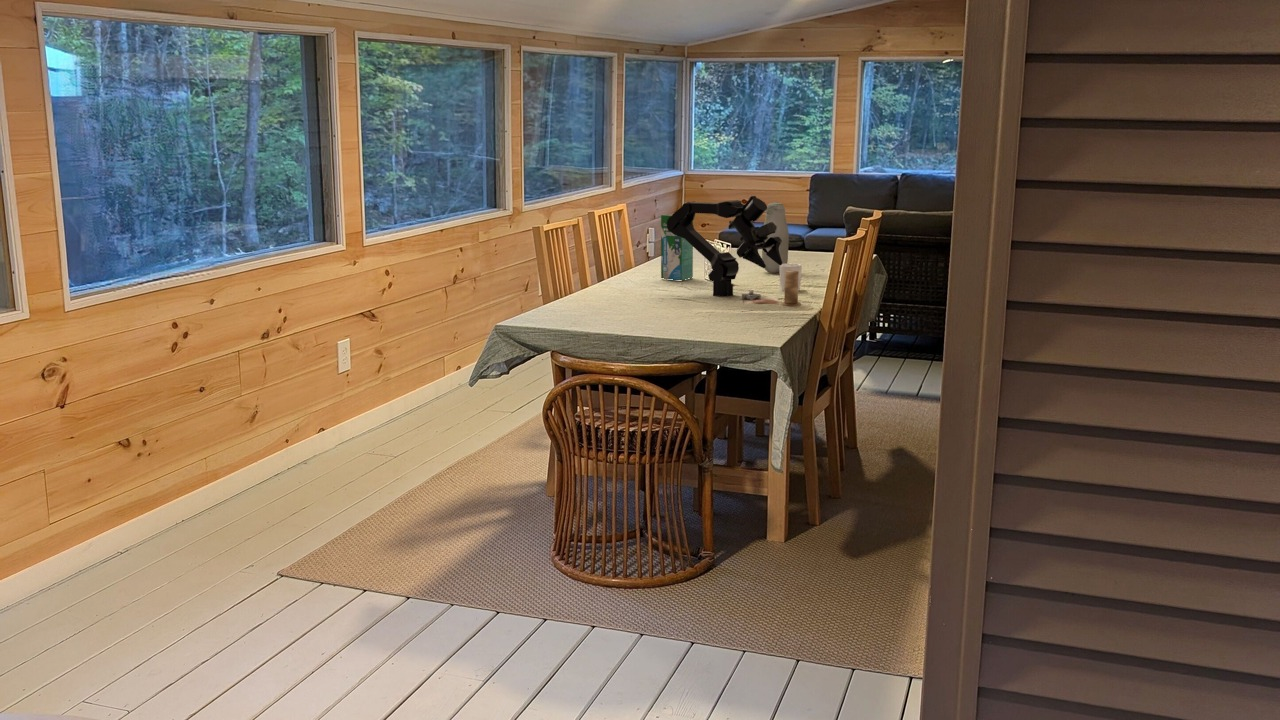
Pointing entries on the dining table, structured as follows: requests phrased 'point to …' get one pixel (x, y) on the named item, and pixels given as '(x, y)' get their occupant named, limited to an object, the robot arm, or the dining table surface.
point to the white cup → (789, 268)
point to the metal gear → (751, 296)
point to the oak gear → (791, 289)
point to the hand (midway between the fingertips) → (773, 266)
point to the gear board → (762, 301)
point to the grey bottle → (777, 235)
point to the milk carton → (675, 254)
